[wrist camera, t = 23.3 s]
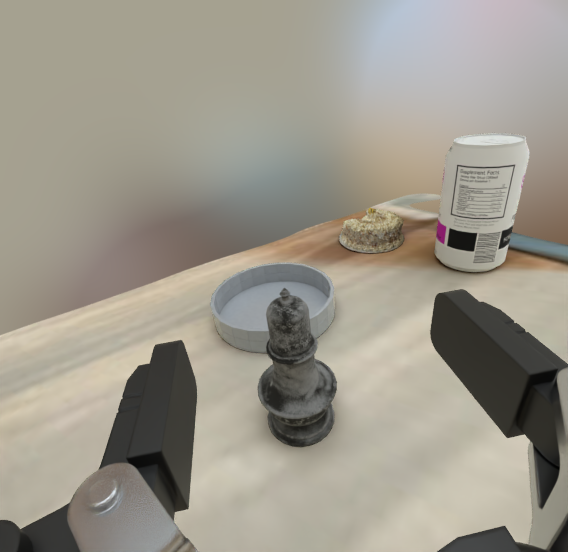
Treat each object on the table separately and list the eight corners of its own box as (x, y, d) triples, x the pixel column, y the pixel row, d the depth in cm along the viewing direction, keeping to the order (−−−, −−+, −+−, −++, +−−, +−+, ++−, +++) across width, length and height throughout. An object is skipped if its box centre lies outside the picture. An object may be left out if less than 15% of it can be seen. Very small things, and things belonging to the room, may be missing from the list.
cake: (414, 236, 54) (420, 204, 51) (384, 263, 48) (388, 228, 45) (359, 221, 60) (361, 191, 57) (326, 244, 54) (326, 212, 51)
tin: (209, 361, 34) (202, 339, 33) (221, 288, 46) (217, 270, 45) (347, 342, 34) (346, 320, 33) (323, 275, 46) (322, 256, 45)
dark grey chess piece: (342, 391, 29) (338, 266, 23) (332, 457, 24) (323, 320, 18) (276, 382, 30) (255, 264, 25) (254, 442, 26) (221, 312, 20)
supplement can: (420, 255, 48) (432, 141, 40) (468, 241, 50) (487, 130, 42) (466, 281, 41) (490, 150, 34) (519, 263, 43) (552, 136, 36)
